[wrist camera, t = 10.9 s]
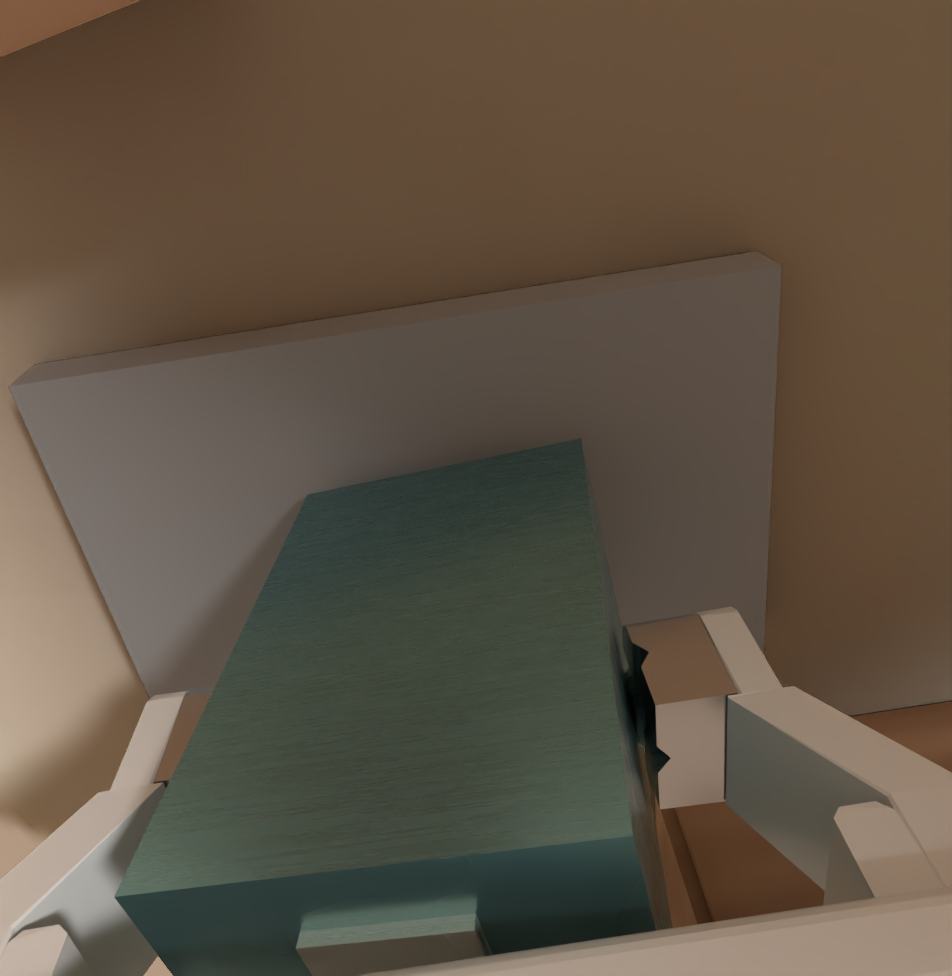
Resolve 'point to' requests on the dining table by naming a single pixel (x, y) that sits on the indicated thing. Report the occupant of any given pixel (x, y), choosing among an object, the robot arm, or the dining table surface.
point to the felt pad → (422, 440)
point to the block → (47, 19)
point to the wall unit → (751, 858)
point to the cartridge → (413, 742)
